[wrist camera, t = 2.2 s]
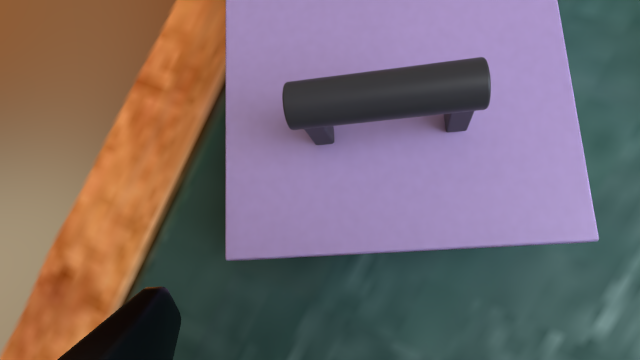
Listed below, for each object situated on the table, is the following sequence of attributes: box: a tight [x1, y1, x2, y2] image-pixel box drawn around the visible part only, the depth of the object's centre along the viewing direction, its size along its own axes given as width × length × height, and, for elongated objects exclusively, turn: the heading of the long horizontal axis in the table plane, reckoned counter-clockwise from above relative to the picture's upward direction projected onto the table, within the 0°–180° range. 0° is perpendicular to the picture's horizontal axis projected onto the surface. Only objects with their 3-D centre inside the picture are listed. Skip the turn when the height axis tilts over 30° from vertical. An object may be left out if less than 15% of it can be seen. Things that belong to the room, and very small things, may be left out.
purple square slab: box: [226, 0, 599, 261], centre depth 15 cm, size 15×12×5 cm
